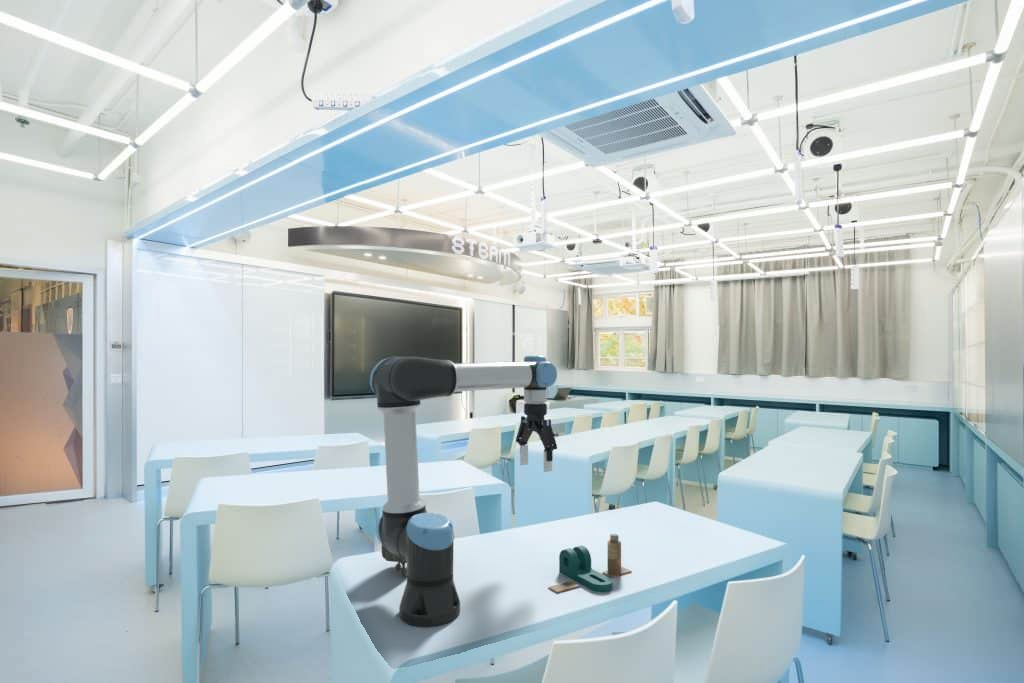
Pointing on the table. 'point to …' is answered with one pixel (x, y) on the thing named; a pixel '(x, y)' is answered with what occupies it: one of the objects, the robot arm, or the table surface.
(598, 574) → the bracket
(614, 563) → the tan cylinder gray tip
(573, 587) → the wooden slat
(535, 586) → the table surface
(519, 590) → the table surface
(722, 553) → the table surface
